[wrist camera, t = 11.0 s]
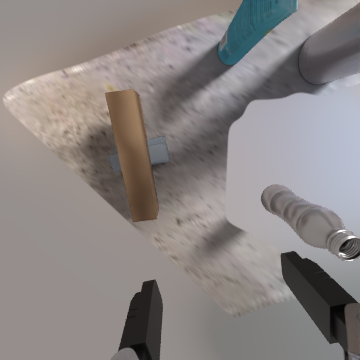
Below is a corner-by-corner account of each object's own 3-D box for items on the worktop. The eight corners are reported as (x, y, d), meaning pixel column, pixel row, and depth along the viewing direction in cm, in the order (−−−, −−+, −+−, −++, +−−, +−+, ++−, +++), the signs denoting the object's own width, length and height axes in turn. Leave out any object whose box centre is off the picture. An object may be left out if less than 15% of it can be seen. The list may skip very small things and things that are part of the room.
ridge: (164, 135, 38) (162, 137, 32) (170, 159, 40) (169, 165, 33) (118, 146, 39) (106, 150, 32) (125, 169, 40) (115, 177, 33)
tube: (246, 68, 36) (324, 2, 17) (221, 75, 36) (272, 17, 17) (239, 23, 34) (320, -106, 15) (213, 31, 34) (262, -88, 15)
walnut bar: (139, 94, 30) (133, 89, 25) (158, 207, 35) (156, 219, 31) (114, 98, 30) (104, 92, 25) (138, 210, 35) (132, 222, 31)
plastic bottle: (268, 213, 44) (341, 279, 25) (251, 193, 42) (316, 247, 23) (290, 197, 43) (385, 252, 24) (275, 175, 42) (363, 216, 22)
